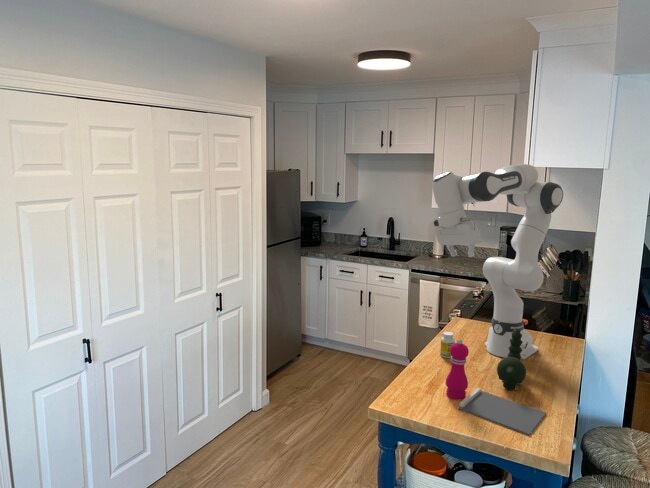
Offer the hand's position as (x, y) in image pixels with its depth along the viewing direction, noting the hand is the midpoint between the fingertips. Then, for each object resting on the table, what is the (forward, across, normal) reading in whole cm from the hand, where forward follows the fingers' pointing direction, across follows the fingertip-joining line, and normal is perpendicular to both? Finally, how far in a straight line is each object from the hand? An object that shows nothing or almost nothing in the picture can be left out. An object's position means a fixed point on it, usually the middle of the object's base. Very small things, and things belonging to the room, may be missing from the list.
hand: (462, 256), depth 169 cm
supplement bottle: (+42, +22, +3) cm, 48 cm away
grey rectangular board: (+47, -19, +15) cm, 53 cm away
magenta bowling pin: (+43, -6, +21) cm, 48 cm away
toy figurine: (+49, -4, -3) cm, 49 cm away
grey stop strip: (+44, -10, +19) cm, 49 cm away
